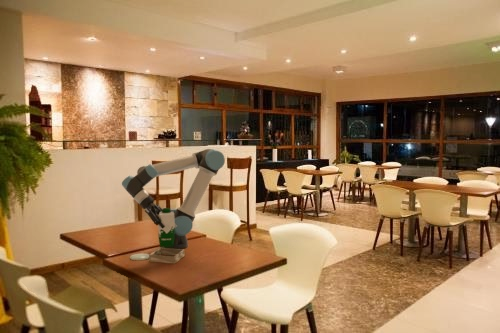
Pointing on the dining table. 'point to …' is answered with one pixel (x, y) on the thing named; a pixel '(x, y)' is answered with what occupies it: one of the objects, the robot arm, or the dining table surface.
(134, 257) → the pale green disc
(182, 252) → the dock
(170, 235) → the soya milk
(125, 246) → the dining table surface
